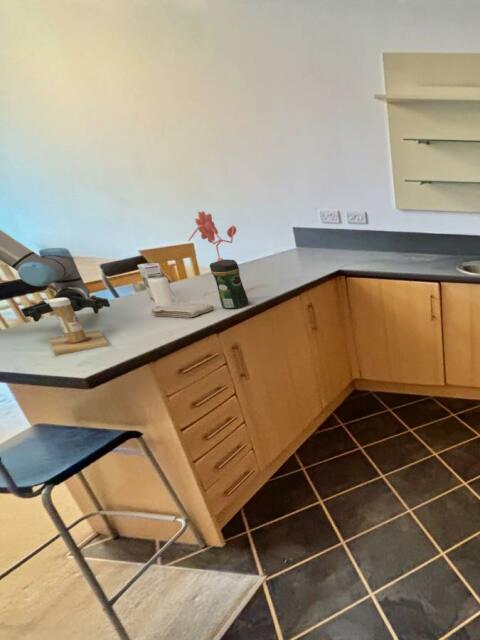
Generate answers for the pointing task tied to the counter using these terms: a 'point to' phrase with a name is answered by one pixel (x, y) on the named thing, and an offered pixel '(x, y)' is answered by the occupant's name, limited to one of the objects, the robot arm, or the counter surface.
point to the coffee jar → (229, 284)
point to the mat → (78, 343)
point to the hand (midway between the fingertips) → (65, 313)
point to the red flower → (211, 231)
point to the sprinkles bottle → (67, 319)
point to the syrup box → (149, 274)
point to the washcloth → (182, 309)
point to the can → (161, 290)
